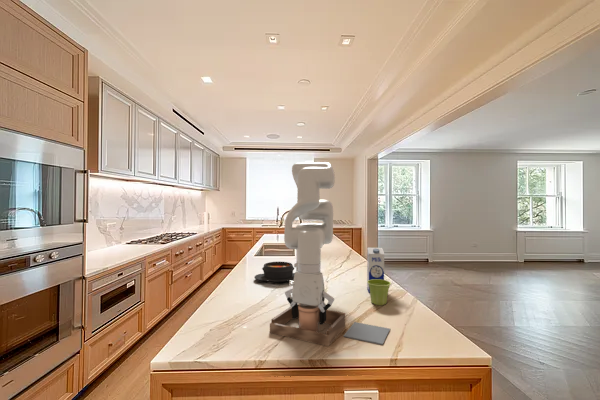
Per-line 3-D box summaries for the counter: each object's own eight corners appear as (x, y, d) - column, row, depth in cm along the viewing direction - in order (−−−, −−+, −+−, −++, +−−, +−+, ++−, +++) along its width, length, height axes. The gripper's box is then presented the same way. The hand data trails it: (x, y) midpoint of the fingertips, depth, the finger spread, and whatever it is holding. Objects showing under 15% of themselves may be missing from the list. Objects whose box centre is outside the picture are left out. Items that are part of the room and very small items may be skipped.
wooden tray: (269, 332, 100) (269, 318, 100) (292, 315, 114) (292, 303, 114) (328, 346, 91) (328, 330, 91) (345, 326, 105) (345, 312, 105)
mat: (343, 336, 97) (343, 335, 97) (354, 323, 108) (354, 321, 108) (382, 345, 92) (382, 343, 92) (390, 329, 103) (390, 328, 103)
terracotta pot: (294, 331, 101) (294, 307, 101) (303, 323, 107) (303, 300, 107) (314, 335, 98) (314, 310, 98) (322, 327, 104) (322, 304, 104)
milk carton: (381, 289, 149) (382, 247, 149) (384, 293, 142) (384, 249, 142) (366, 288, 149) (367, 247, 149) (368, 293, 143) (368, 249, 143)
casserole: (298, 275, 176) (298, 260, 175) (304, 284, 157) (305, 267, 157) (253, 276, 171) (253, 261, 171) (254, 286, 153) (254, 269, 153)
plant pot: (391, 307, 124) (391, 285, 124) (367, 306, 125) (367, 284, 125) (389, 300, 133) (389, 279, 133) (367, 298, 135) (367, 278, 135)
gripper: (280, 267, 103) (280, 319, 103) (329, 273, 95) (329, 329, 95) (291, 263, 110) (290, 312, 109) (337, 268, 102) (337, 321, 102)
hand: (308, 320), depth 102 cm, fingers open, 9 cm apart
